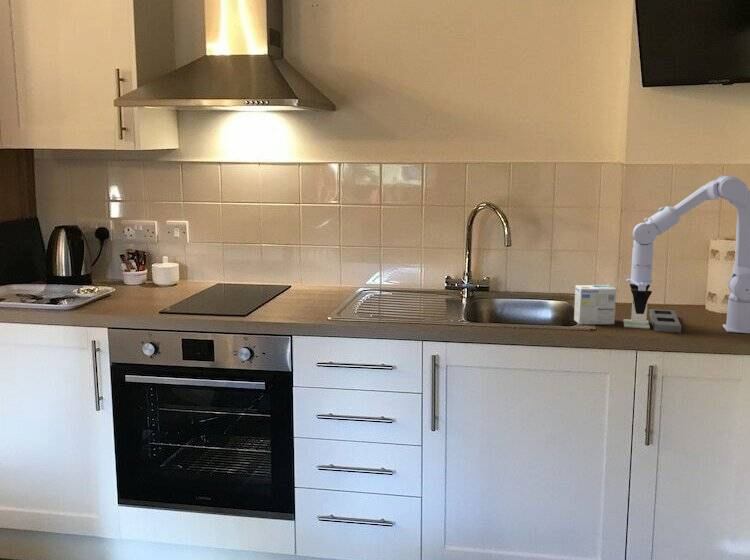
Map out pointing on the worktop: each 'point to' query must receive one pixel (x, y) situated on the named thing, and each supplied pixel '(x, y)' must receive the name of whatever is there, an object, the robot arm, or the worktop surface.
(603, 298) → the light bulb box
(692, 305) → the worktop surface
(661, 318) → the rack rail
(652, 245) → the robot arm
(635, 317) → the white block
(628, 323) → the mat
